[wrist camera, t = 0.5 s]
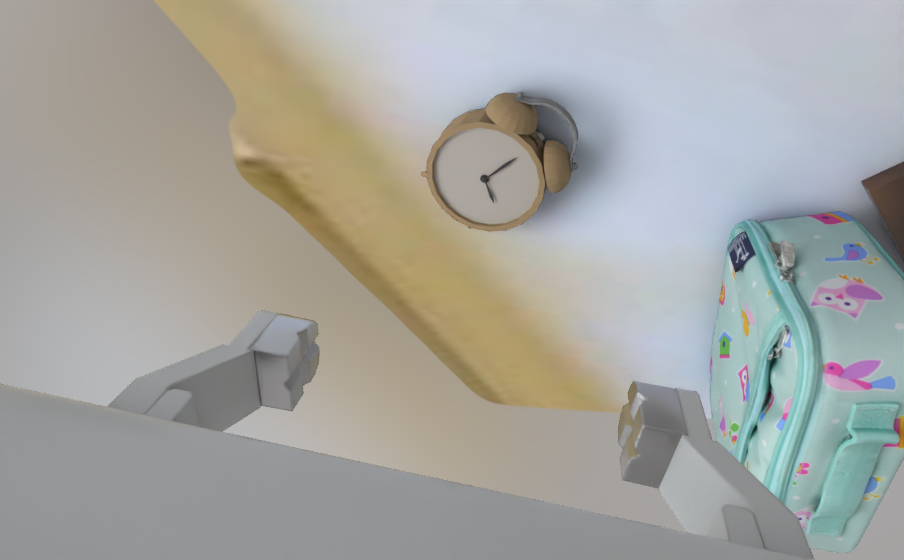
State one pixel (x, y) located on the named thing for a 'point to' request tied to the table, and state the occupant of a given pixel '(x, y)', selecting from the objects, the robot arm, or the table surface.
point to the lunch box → (812, 369)
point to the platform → (889, 201)
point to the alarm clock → (498, 163)
